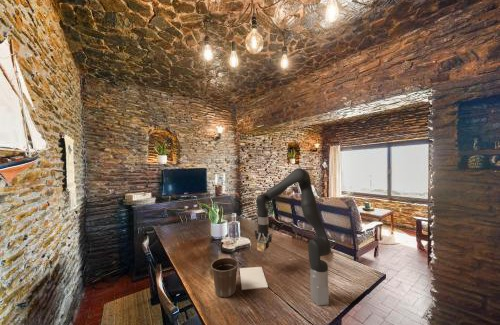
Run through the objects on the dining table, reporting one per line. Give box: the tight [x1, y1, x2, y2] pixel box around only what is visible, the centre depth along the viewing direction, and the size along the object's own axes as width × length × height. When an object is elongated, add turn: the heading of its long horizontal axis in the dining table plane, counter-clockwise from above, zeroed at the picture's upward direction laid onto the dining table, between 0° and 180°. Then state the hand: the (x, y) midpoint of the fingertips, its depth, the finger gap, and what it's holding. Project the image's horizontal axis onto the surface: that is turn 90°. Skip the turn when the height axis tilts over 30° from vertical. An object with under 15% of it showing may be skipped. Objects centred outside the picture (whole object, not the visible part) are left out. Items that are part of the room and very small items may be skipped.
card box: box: [256, 238, 271, 252], centre depth 137 cm, size 5×9×5 cm, turn 149°
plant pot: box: [210, 257, 239, 298], centre depth 116 cm, size 16×16×16 cm
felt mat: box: [239, 266, 269, 291], centre depth 130 cm, size 24×16×1 cm, turn 6°
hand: (263, 246), depth 137 cm, fingers closed on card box, 5 cm apart
